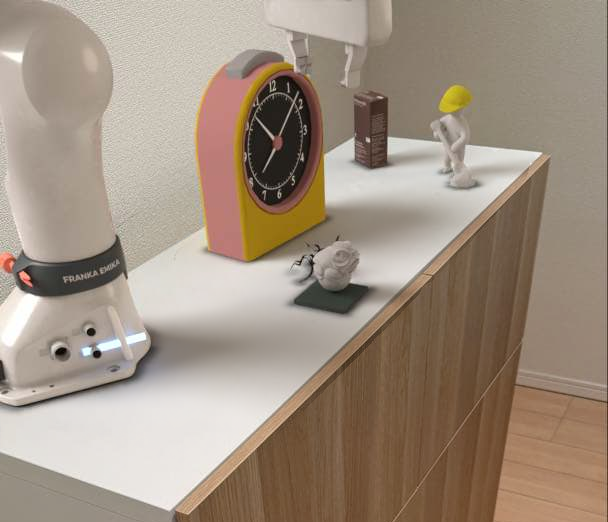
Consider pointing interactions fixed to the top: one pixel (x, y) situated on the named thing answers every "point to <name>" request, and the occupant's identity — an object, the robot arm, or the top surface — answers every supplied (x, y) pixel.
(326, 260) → the white rounded lump
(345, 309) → the coaster pad
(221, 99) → the alarm clock
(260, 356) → the top surface
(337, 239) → the creature
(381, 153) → the box
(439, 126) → the figurine
